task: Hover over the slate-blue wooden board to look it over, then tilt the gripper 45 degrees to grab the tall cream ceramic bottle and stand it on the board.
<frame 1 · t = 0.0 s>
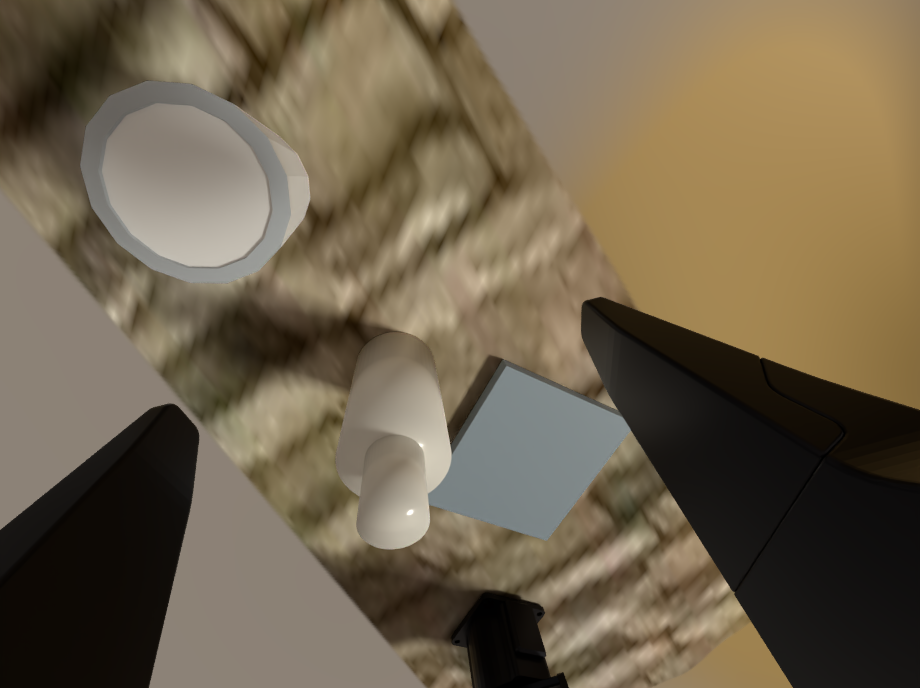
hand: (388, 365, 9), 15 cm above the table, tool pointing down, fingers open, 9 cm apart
slate board: (525, 454, 30), on the table
cream bottle: (396, 368, 26), on the table
shot glass: (254, 185, 21), on the table
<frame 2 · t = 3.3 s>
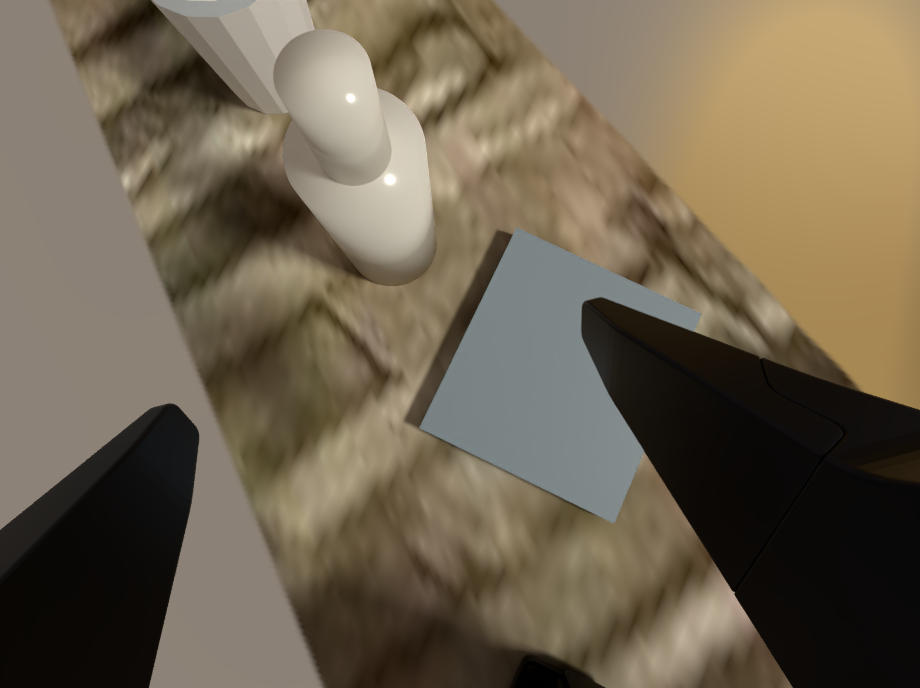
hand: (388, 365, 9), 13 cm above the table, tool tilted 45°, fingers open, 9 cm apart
slate board: (558, 370, 23), on the table
cream bottle: (392, 243, 23), on the table
shot glass: (278, 73, 25), on the table
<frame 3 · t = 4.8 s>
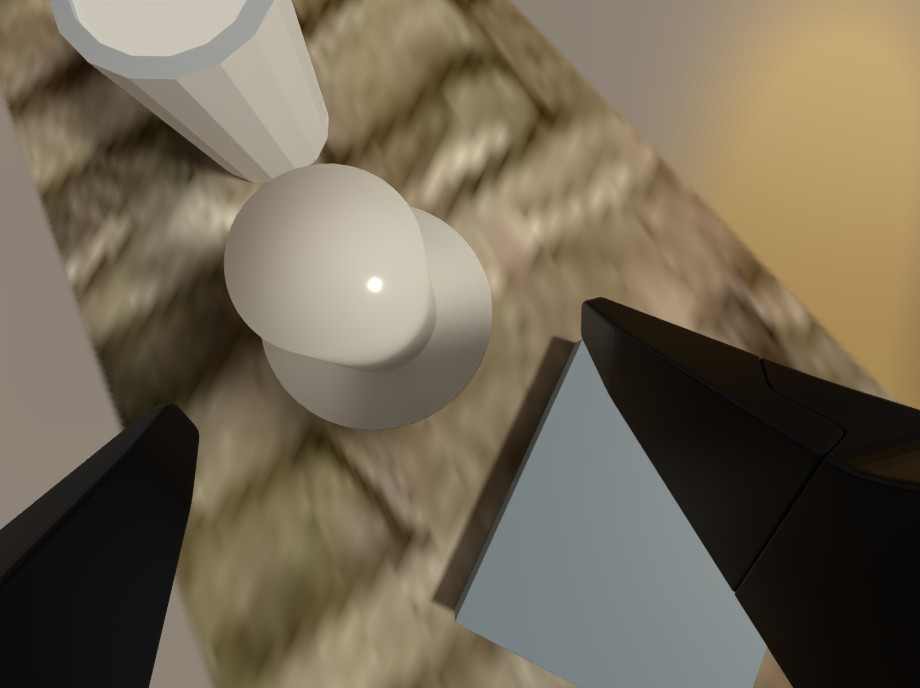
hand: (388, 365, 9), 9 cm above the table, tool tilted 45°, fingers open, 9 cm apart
slate board: (638, 529, 17), on the table
cream bottle: (416, 354, 18), on the table
shot glass: (270, 129, 19), on the table
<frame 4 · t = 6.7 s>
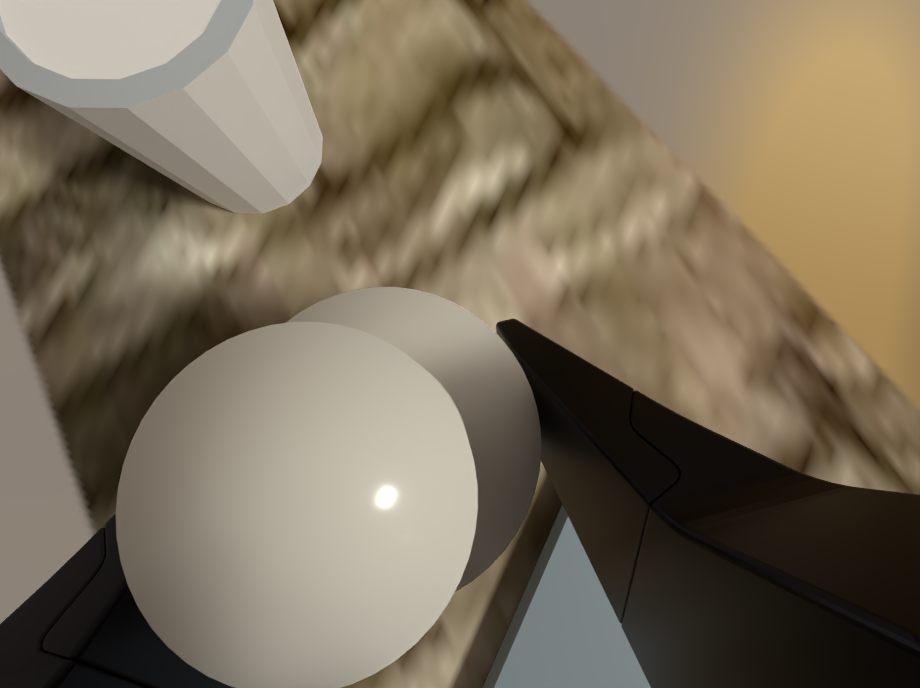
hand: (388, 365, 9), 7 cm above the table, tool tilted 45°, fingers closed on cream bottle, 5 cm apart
slate board: (682, 619, 15), on the table
cream bottle: (424, 413, 15), on the table, touching gripper
shot glass: (256, 151, 17), on the table
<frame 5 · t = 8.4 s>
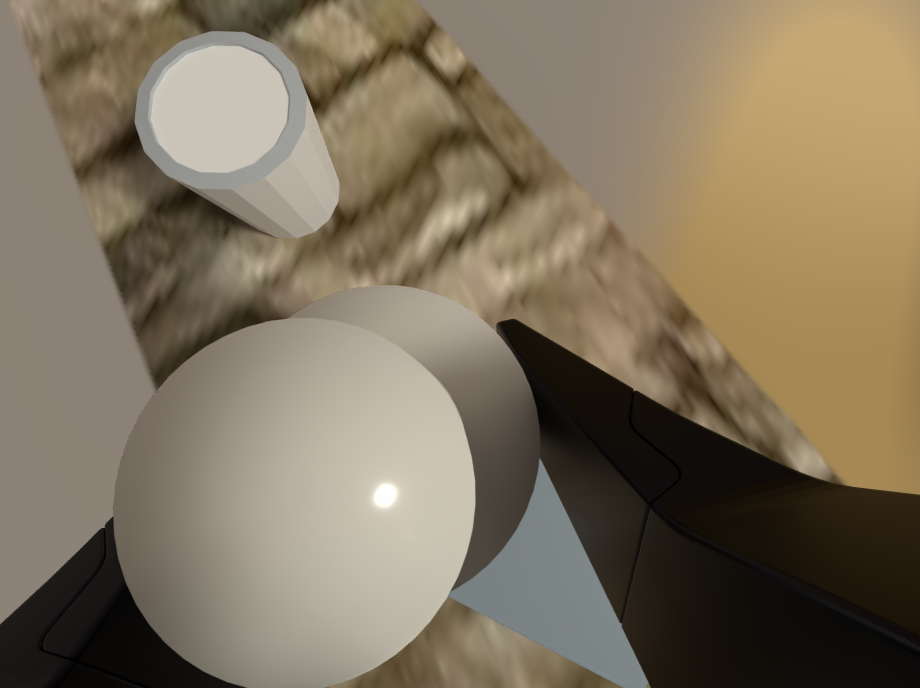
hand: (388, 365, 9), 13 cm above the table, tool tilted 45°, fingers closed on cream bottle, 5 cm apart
slate board: (583, 521, 21), on the table
cream bottle: (424, 412, 15), point 7 cm above the table, touching gripper
shot glass: (291, 192, 23), on the table
when the fingers open (9 cm above the table, at t = 10.5 s): cream bottle drops 1 cm, resting on slate board.
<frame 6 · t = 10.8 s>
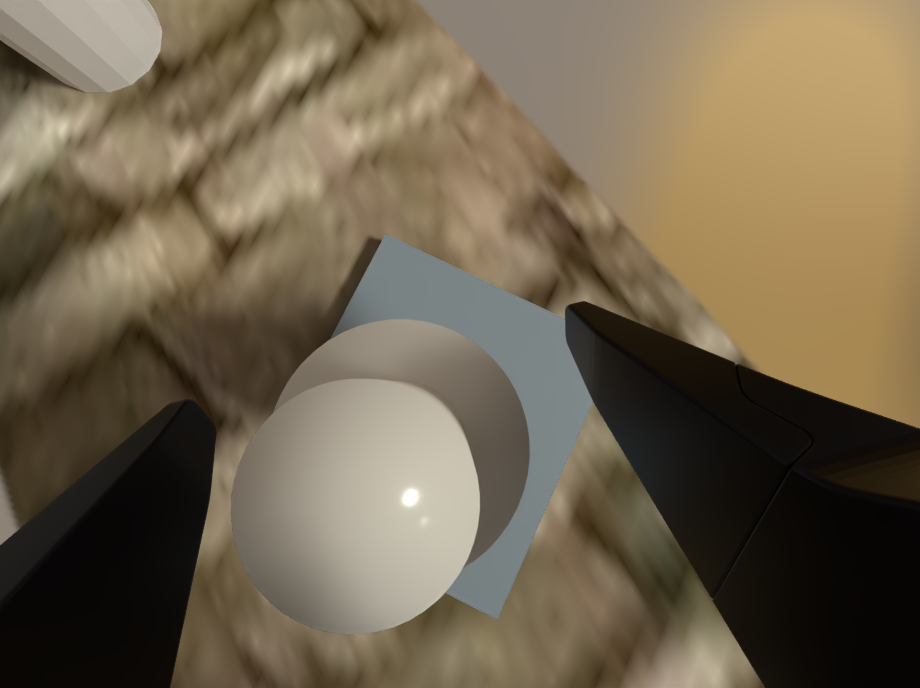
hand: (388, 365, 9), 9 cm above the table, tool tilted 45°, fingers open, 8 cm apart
slate board: (439, 415, 18), on the table
cream bottle: (427, 413, 17), point 1 cm above the table, touching slate board
shot glass: (107, 43, 20), on the table
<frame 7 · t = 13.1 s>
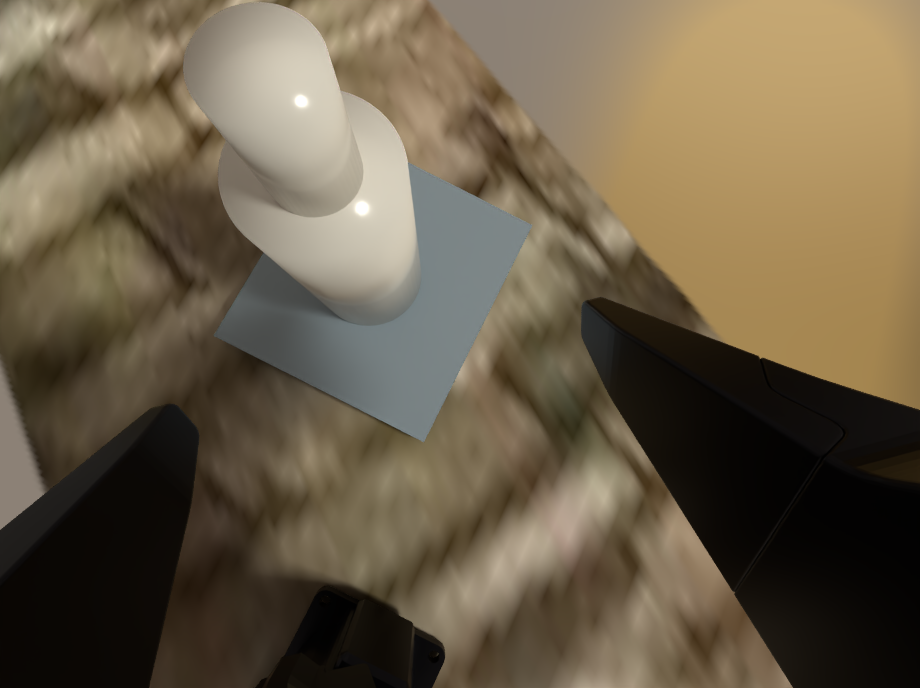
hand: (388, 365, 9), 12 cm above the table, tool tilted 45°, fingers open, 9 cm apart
slate board: (382, 283, 21), on the table
cream bottle: (369, 275, 20), point 1 cm above the table, touching slate board
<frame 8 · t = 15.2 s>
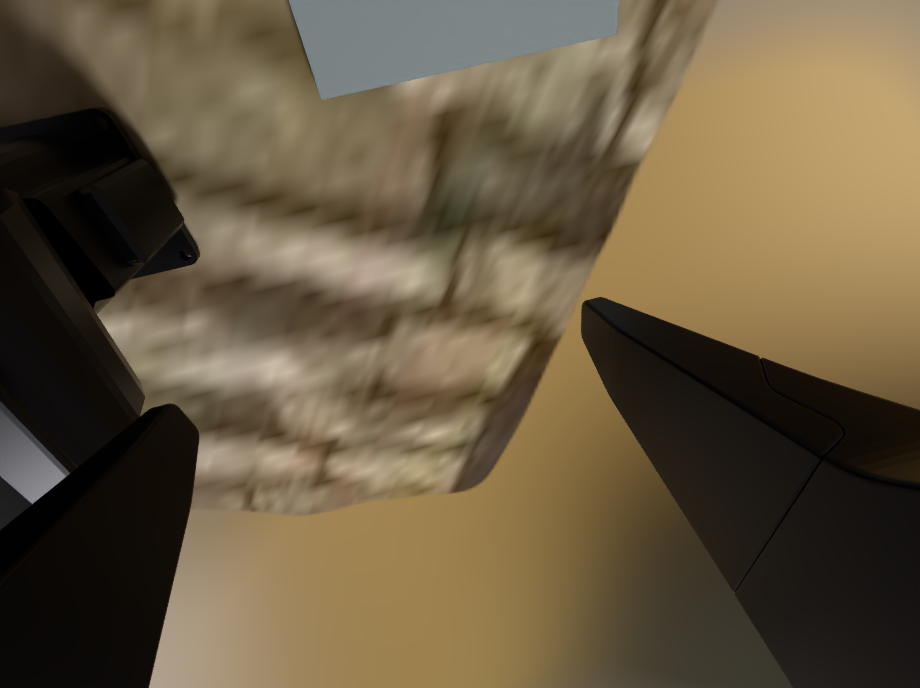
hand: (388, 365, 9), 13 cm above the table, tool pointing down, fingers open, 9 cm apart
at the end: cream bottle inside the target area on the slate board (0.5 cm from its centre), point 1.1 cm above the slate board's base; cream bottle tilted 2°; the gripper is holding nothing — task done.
